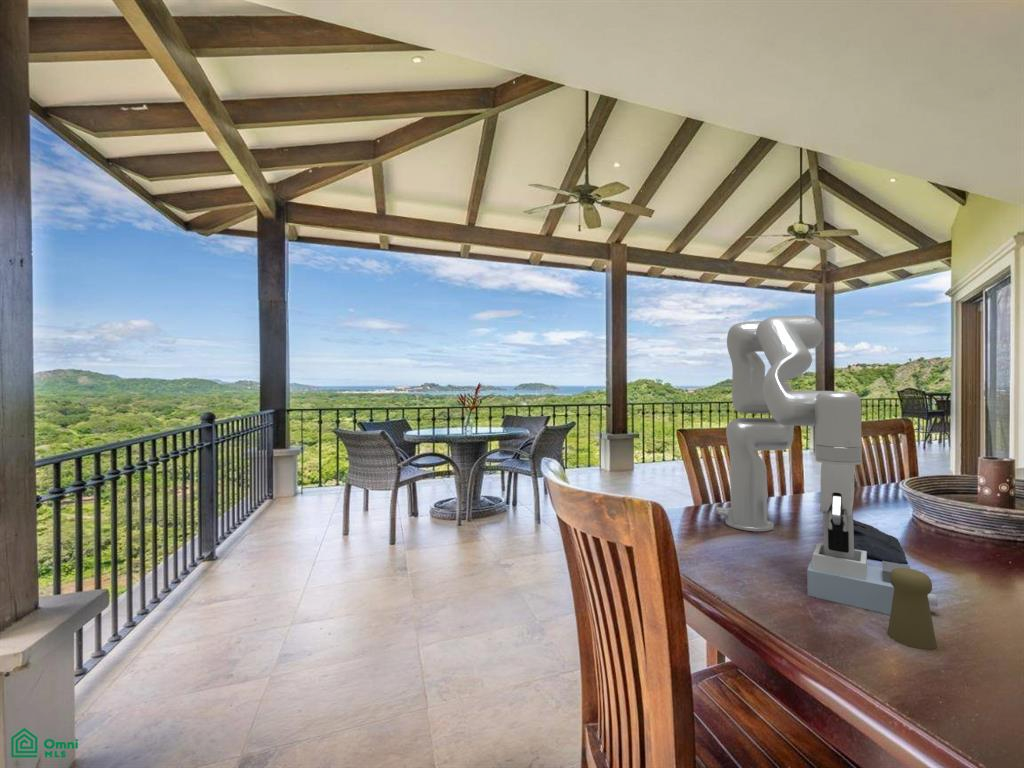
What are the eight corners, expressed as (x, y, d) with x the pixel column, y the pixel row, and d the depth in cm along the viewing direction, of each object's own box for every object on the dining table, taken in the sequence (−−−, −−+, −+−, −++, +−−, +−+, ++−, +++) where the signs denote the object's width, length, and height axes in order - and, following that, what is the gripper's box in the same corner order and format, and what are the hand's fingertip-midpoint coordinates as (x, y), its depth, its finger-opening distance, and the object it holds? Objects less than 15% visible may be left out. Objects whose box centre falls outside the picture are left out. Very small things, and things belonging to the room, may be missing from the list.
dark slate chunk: (829, 555, 112) (829, 536, 112) (828, 531, 130) (828, 515, 130) (912, 568, 103) (912, 547, 104) (898, 541, 122) (898, 523, 122)
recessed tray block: (807, 595, 90) (806, 554, 90) (813, 578, 98) (812, 541, 98) (940, 626, 78) (939, 578, 78) (934, 604, 86) (933, 561, 86)
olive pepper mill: (877, 630, 77) (876, 564, 77) (911, 628, 77) (909, 562, 78) (912, 650, 71) (910, 579, 71) (948, 648, 71) (946, 577, 71)
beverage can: (849, 563, 92) (847, 503, 92) (859, 573, 88) (856, 510, 87) (821, 561, 94) (819, 502, 94) (829, 571, 89) (827, 509, 89)
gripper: (819, 448, 100) (821, 531, 100) (810, 458, 86) (812, 554, 86) (863, 451, 95) (864, 538, 95) (860, 462, 82) (862, 564, 82)
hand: (839, 545), depth 91 cm, fingers open, 5 cm apart
